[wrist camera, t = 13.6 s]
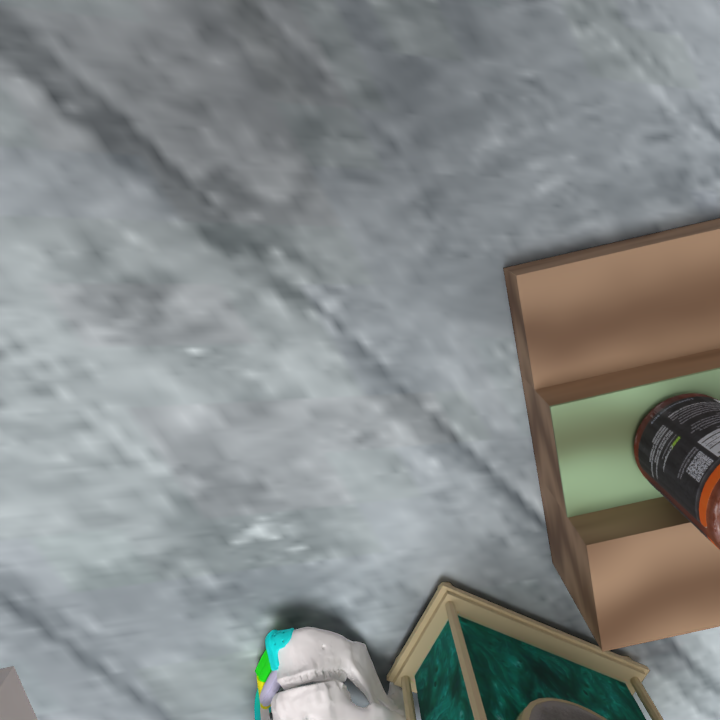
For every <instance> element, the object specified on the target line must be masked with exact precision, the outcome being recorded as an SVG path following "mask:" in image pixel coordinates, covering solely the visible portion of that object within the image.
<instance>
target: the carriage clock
mask: <svg viewBox="0 0 720 720" xmlns="http://www.w3.org/2000/svg"><path fill="white" fill-rule="evenodd" d="M649 671H650V670H649V669H648V667H647V666H645V665H642V664H640V663H637V662H635V661H632V660H631V659H630V657H629V656H620V655H618V654H615V653H613V652H611V651H604V652H602V650H601V648H600V647H598V646H596V645H594V644H591V643H589V642H586V641H584V640H582V639H579V638H577V637H574V636H572V635H569V634H567V633H565V632H562V631H560V630H557V629H555V628H552V627H550V626H548V625H545V624H543V623H540V622H538V621H535V620H533V619H531V618H528V617H526V616H523V615H521V614H518V613H516V612H514V611H511V610H509V609H506V608H504V607H501V606H499V605H497V604H494V603H492V602H489V601H487V600H485V599H482V598H480V597H477V596H475V595H472V594H470V593H468V592H465V591H463V590H460V589H458V588H455V587H454V586H453V585H452V584H451V583H450V582H442V583H441V584H440V585H438V589H437V591H436V593H435V594H434V596H433V598H432V600H431V601H430V603H429V605H428V606H427V608H426V610H425V612H424V613H423V615H422V617H421V618H420V620H419V622H418V623H417V625H416V627H415V629H414V630H413V632H412V634H411V635H410V637H409V639H408V640H407V642H406V644H405V646H404V647H403V649H402V651H401V652H400V654H399V656H398V657H396V658H395V663H394V664H393V666H392V668H391V669H390V671H389V673H388V674H387V681H390V682H393V683H394V685H397V686H399V687H402V692H403V700H404V707H405V714H406V720H416V714H415V708H414V701H413V695H412V692H415V693H417V695H418V701H419V707H420V713H421V719H422V720H646V719H645V717H644V715H643V713H642V712H641V710H640V708H639V706H638V704H637V703H636V701H635V699H634V697H633V696H632V695H633V694H634V692H635V691H636V693H637V695H638V696H639V698H640V700H641V701H642V703H643V705H644V707H645V708H646V710H647V712H648V713H649V715H650V717H651V719H652V720H663V718H662V716H661V715H660V713H659V711H658V710H657V708H656V706H655V705H654V703H653V701H652V700H651V698H650V696H649V695H648V693H647V691H646V690H645V688H644V686H643V685H642V683H641V682H642V681H643V680H644V678H645V677H646V675H647V674H648V672H649Z"/></svg>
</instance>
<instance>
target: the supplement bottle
mask: <svg viewBox="0 0 720 720" xmlns="http://www.w3.org/2000/svg"><path fill="white" fill-rule="evenodd" d="M634 456H635V460H636V463H637V466H638V468H639V470H640V471H641V473H642V475H643V476H644V477H645V478H646V479H647V480H648V482H649V483H650V484H651V485H652V486H653V487H654V488H655V489H656V490H658V491H659V492H660V493H661V494H662V495H663V496H664V497H665V498H666V499H667V500H668V501H669V502H670V503H671V504H672V505H673V506H674V507H675V508H676V509H677V510H678V511H679V512H680V513H681V514H682V515H684V516H685V517H686V518H687V519H688V520H689V521H690V522H691V523H692V524H693V525H694V526H695V527H696V528H697V529H698V530H699V531H700V532H701V533H702V534H703V535H704V536H705V537H706V538H707V539H708V540H709V541H711V542H712V543H713V544H714V545H715V546H716V547H717V548H718V549H719V550H720V401H719V400H718V399H715V398H713V397H711V396H707V395H704V394H698V393H688V394H681V395H677V396H674V397H671V398H668V399H666V400H664V401H662V402H660V403H659V404H658V405H656V406H655V407H654V408H653V409H652V410H651V411H650V412H649V413H648V414H647V415H646V416H645V418H644V419H643V420H642V422H641V424H640V425H639V428H638V430H637V433H636V436H635V440H634Z"/></svg>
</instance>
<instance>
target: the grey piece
mask: <svg viewBox="0 0 720 720" xmlns="http://www.w3.org/2000/svg"><path fill="white" fill-rule="evenodd" d="M265 645H266V650H265V652H264V653H263V655H262V657H261V659H260V661H259V663H258V665H257V667H256V670H255V672H256V674H257V684H258V689H257V693H256V697H255V707H254V708H255V720H272V719H271V718H270V712H271V711H272V714H273V720H406V714H405V707H404V700H403V692H402V690H401V689H400V687H399V686H397V685H394V683H393V682H390V685H389V692H388V695H386V693H385V691H384V689H383V687H382V685H381V682H380V680H379V678H378V676H377V673H376V671H375V668H374V665H373V663H372V660H371V658H370V656H369V653H368V651H367V647H366V645H365V644H364V643H361V642H357V641H355V642H353V641H351V640H349V639H347V638H345V637H344V636H342V635H340V634H338V633H335V632H332V631H328V630H323V629H318V628H314V627H303V628H299V629H296V630H294V628H290V629H285V630H279V631H277V630H272V631H271V632H269V633H268V634H267V636H266V639H265ZM347 678H348V679H349V680H350V681H352V682H353V683H354V684H355V686H356V687H358V688H359V689H360V690H361V691H362V692H363V693H364V694H365V696H366V697H367V699H368V702H369V703H370V704H369V705H368V706H367V707H365V708H362V707H359V706H357V705H355V704H354V703H353V702H352V700H351V695H350V692H349V691H348V690H347V686H346V685H344V684H343V682H345V681H346V679H347ZM311 682H314V683H316V684H311V685H306V686H301V687H296V686H299V685H302V684H307V683H311ZM280 686H282V688H283V689H284V690H285V691H281V692H278V693H277V691H278V690H279V689H280ZM294 687H296V688H294ZM290 688H292V689H290ZM287 689H288V690H287Z"/></svg>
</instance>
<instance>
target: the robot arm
mask: <svg viewBox="0 0 720 720" xmlns="http://www.w3.org/2000/svg"><path fill="white" fill-rule="evenodd" d="M0 720H37V717H36V715H35V713H34V711H33V708H32V706H31V704H30V702H29V699H28V697H27V695H26V693H25V690H24V688H23V686H22V684H21V681H20V679H19V677H18V675H17V672H16V670H15V668H14V666H11V667H7V668H2V669H0Z"/></svg>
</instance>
